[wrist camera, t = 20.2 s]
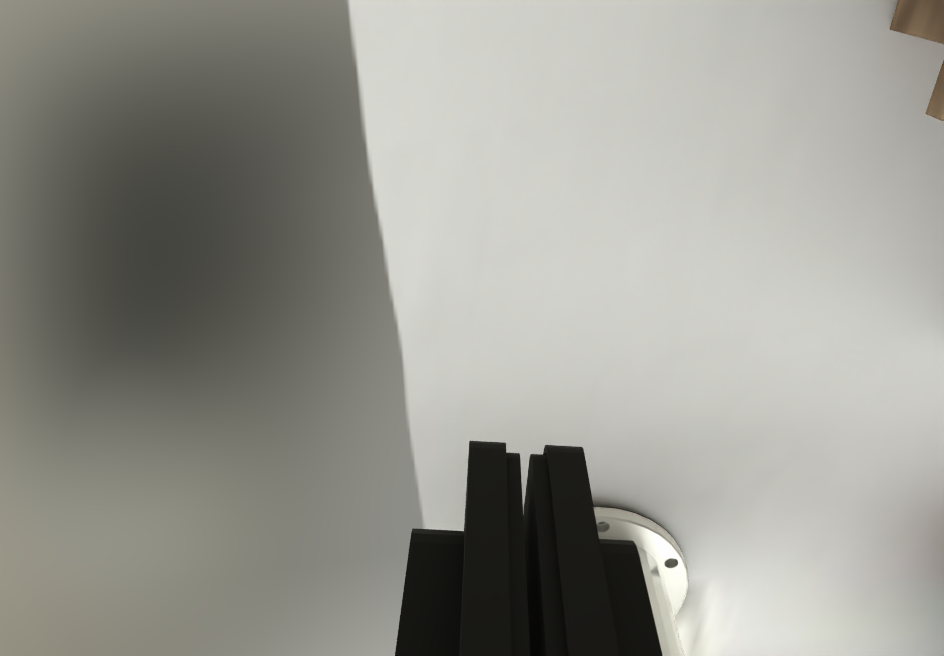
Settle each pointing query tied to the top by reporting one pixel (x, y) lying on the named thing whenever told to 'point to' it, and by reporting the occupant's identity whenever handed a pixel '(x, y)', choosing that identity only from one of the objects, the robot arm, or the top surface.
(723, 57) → the top surface
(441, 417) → the top surface
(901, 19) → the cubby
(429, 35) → the top surface
